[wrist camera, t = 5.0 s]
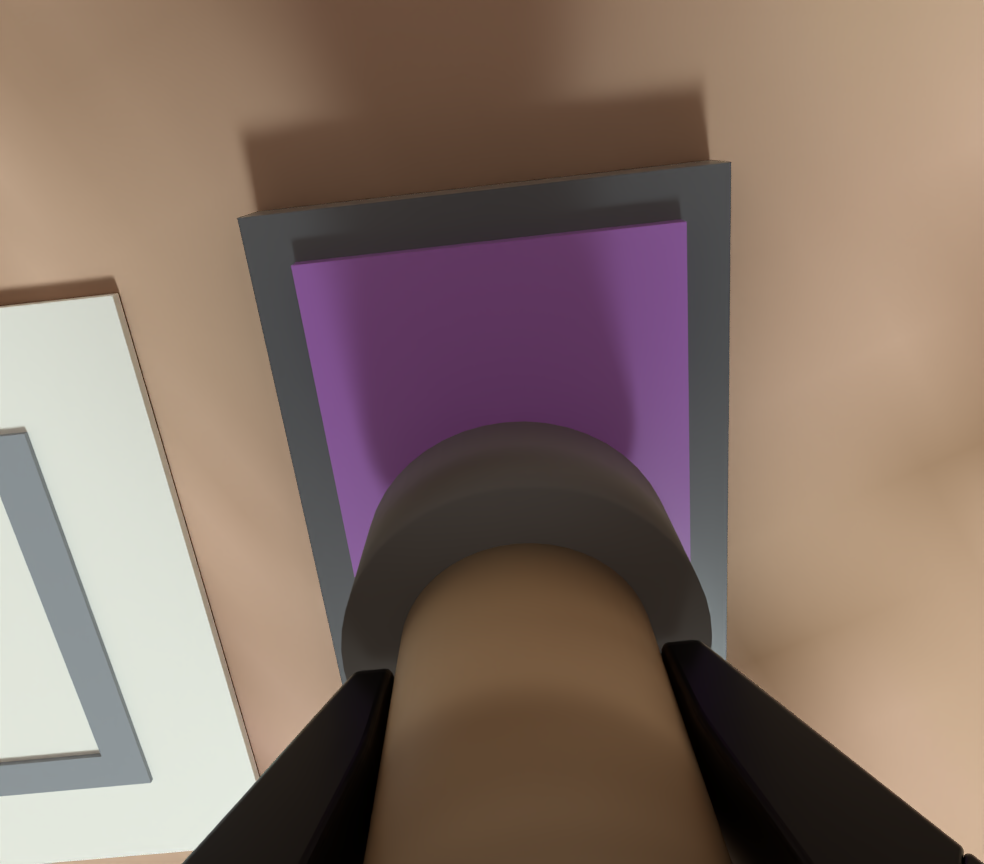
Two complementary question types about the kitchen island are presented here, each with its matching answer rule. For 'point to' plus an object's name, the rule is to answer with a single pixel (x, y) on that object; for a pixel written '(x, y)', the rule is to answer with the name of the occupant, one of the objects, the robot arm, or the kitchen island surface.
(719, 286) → the ink pad
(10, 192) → the kitchen island surface
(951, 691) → the kitchen island surface
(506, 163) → the kitchen island surface
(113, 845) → the sheet
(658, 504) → the stamp
